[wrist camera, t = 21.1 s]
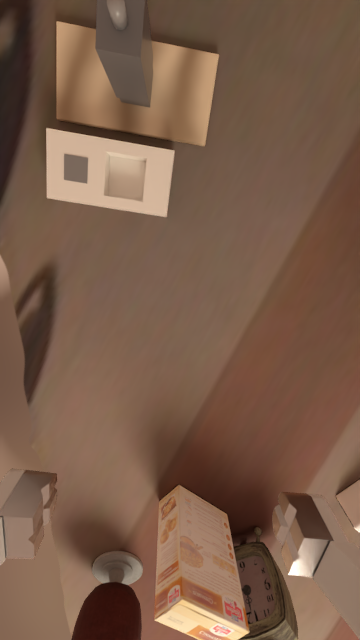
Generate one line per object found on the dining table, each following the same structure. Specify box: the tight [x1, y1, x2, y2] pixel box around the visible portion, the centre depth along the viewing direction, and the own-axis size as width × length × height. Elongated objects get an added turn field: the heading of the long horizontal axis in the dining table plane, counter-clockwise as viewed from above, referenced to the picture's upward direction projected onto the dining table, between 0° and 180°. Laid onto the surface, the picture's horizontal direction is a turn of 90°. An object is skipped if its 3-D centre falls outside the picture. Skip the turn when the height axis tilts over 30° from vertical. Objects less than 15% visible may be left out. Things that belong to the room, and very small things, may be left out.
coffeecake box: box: [154, 485, 250, 640], centre depth 53 cm, size 15×7×20 cm, turn 49°
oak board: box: [57, 21, 219, 146], centre depth 36 cm, size 20×10×1 cm, turn 82°
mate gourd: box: [72, 551, 143, 640], centre depth 59 cm, size 16×14×20 cm
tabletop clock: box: [233, 527, 298, 640], centre depth 54 cm, size 14×9×25 cm, turn 116°
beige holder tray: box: [46, 128, 174, 217], centre depth 38 cm, size 16×8×4 cm, turn 82°
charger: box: [95, 0, 153, 107], centre depth 29 cm, size 4×5×14 cm
